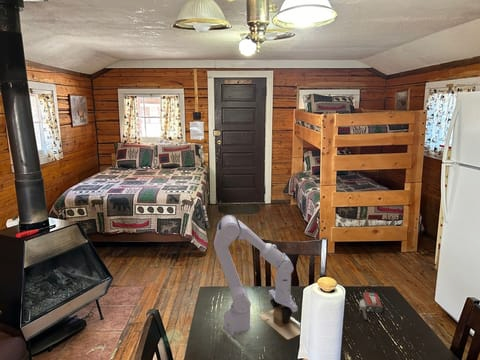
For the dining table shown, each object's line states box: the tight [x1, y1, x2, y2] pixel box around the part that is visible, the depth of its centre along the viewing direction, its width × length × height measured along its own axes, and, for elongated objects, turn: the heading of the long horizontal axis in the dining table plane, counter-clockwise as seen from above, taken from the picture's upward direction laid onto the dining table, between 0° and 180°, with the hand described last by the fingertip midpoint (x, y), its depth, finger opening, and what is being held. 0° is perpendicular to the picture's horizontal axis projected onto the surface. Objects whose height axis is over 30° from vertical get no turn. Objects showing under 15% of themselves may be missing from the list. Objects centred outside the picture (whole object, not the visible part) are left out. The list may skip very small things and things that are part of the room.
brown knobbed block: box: [273, 305, 292, 327], centre depth 135 cm, size 8×4×6 cm, turn 123°
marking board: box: [257, 308, 302, 341], centre depth 136 cm, size 9×18×3 cm, turn 33°
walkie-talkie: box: [358, 291, 384, 321], centre depth 148 cm, size 9×4×20 cm
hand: (282, 320), depth 136 cm, fingers closed on brown knobbed block, 4 cm apart
